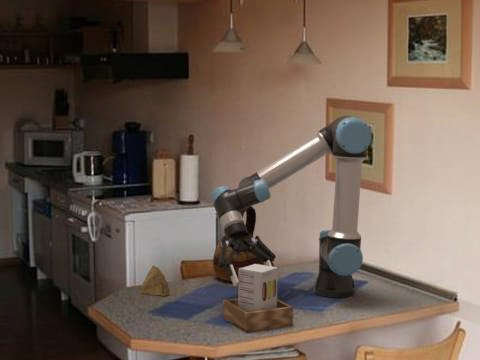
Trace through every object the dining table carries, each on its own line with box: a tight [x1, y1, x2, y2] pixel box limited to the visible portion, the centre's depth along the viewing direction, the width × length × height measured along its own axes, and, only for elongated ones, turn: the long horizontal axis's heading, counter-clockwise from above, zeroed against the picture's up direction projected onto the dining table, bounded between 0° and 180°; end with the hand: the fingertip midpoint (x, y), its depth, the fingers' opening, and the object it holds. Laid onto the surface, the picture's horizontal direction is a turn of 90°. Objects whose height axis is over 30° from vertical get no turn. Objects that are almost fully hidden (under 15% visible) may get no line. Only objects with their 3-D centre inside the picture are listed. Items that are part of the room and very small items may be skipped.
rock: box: [139, 265, 170, 297], centre depth 293 cm, size 11×9×10 cm
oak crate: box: [222, 298, 294, 333], centre depth 261 cm, size 17×17×6 cm
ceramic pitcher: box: [212, 206, 265, 282], centre depth 316 cm, size 20×20×30 cm
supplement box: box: [237, 264, 278, 312], centre depth 260 cm, size 10×9×17 cm
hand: (255, 281), depth 260 cm, fingers open, 13 cm apart
